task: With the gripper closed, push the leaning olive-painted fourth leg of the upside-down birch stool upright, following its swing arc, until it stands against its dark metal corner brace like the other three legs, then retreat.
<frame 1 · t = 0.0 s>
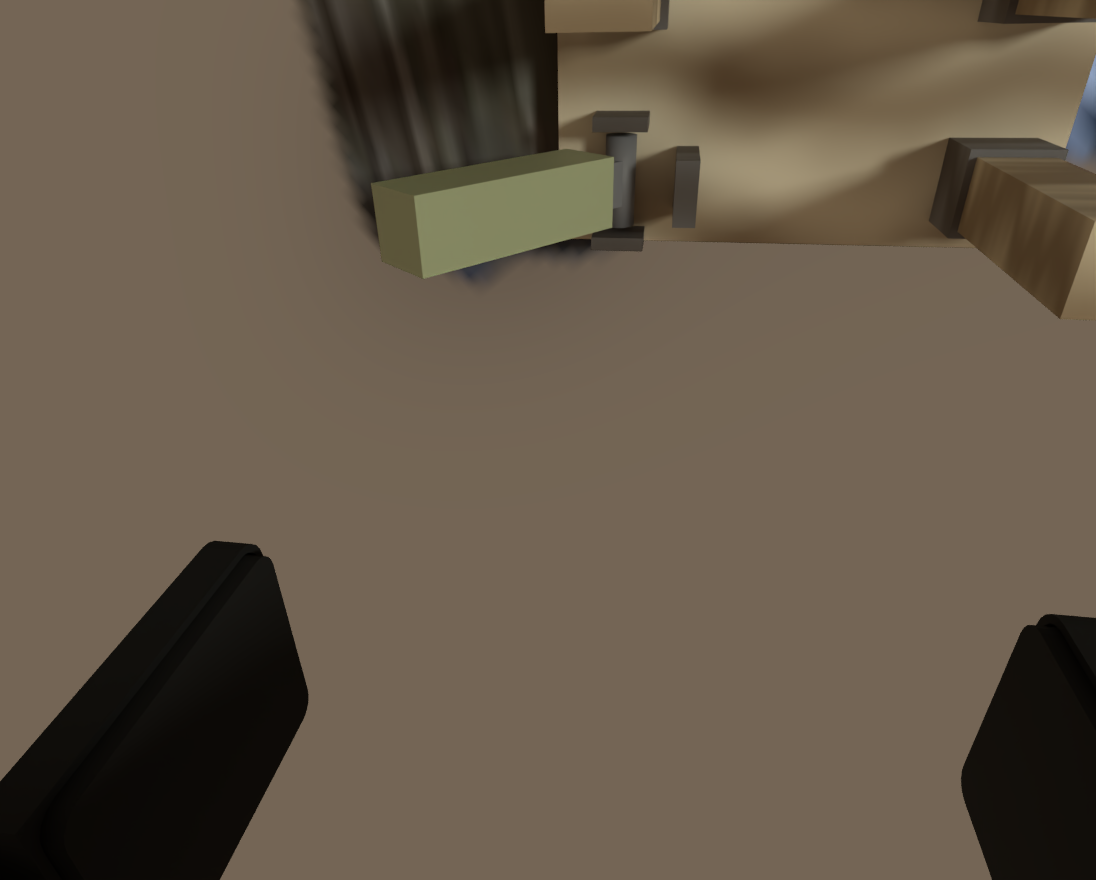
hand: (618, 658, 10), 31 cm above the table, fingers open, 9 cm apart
hinged leg: (527, 201, 31), point 7 cm above the table, hinge at 40.0°
stool seat: (805, 79, 33), on the table
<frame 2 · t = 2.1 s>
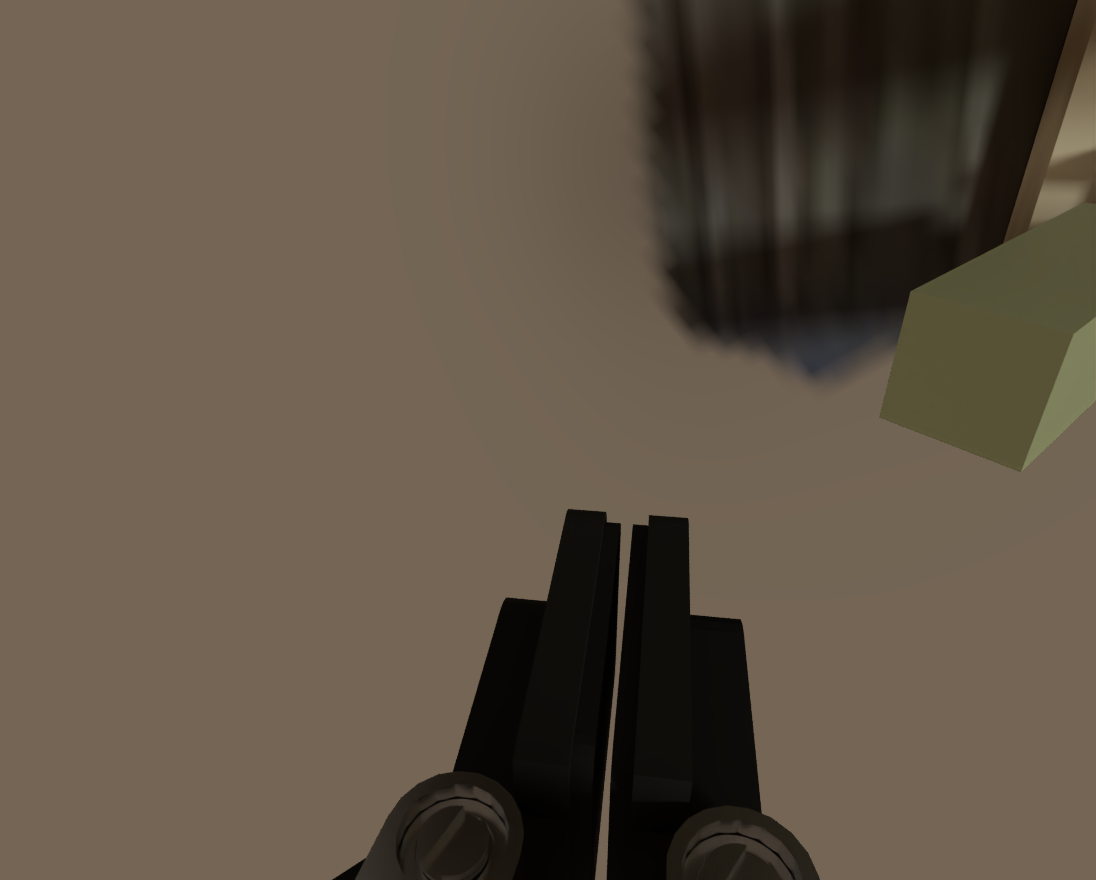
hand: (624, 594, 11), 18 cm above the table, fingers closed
hinged leg: (1077, 300, 18), point 7 cm above the table, hinge at 40.0°
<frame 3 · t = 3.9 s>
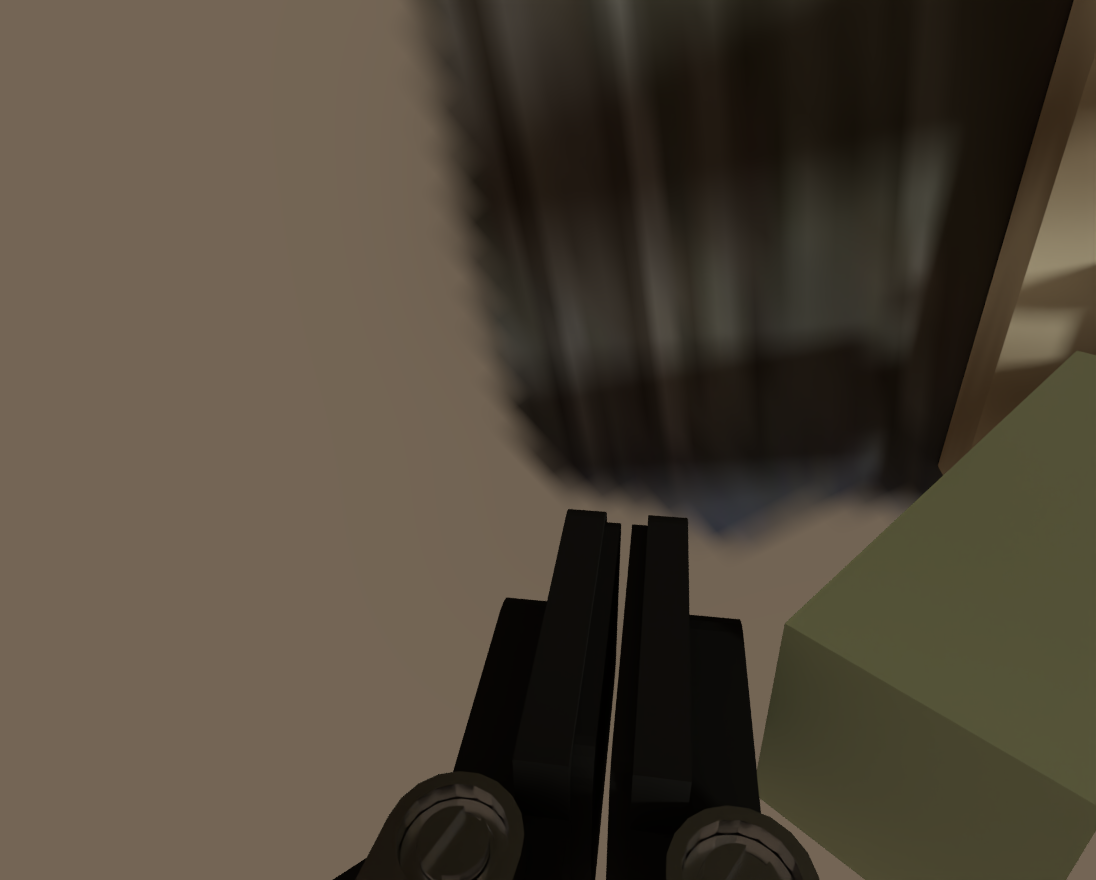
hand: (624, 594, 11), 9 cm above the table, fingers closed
hinged leg: (1079, 535, 11), point 7 cm above the table, hinge at 38.2°, touching gripper
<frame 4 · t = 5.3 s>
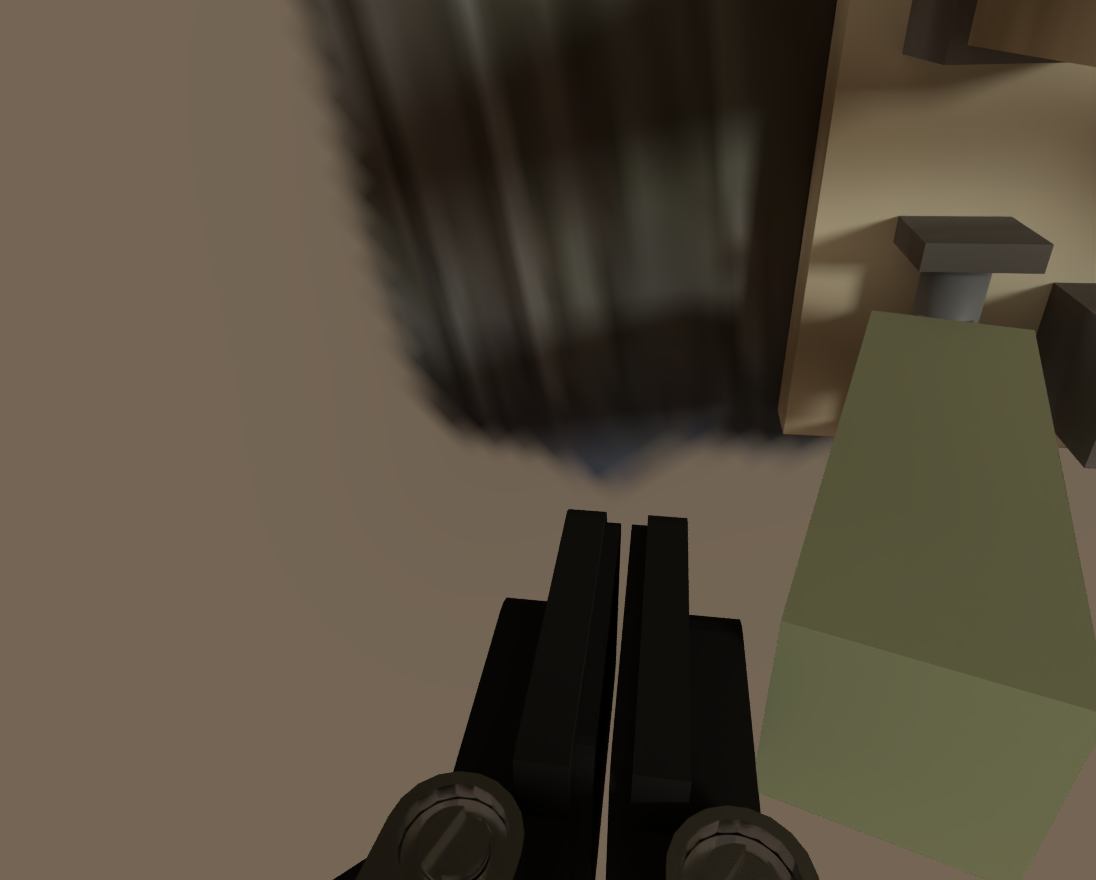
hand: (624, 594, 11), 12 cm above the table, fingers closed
hinged leg: (925, 471, 13), point 8 cm above the table, hinge at 17.0°, touching gripper
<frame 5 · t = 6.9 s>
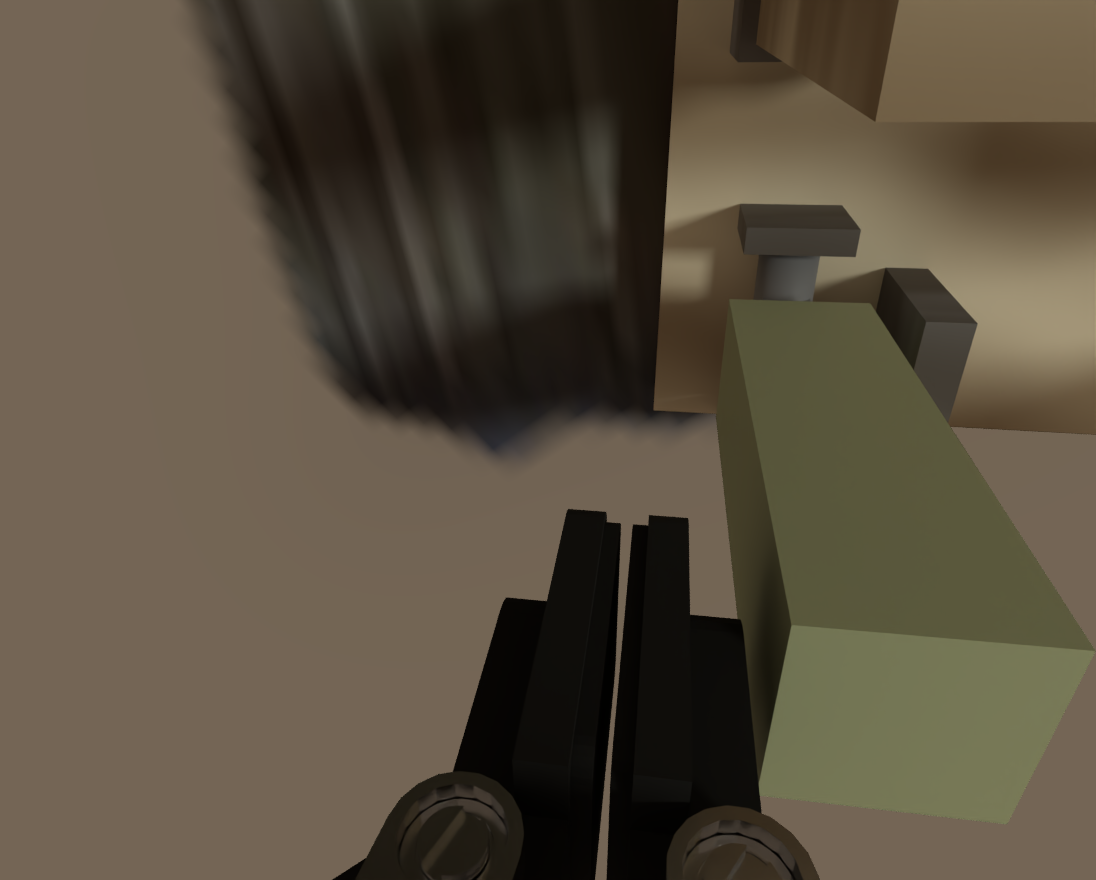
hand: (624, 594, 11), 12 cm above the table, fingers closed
hinged leg: (815, 445, 14), point 8 cm above the table, hinge at -0.6°, touching gripper
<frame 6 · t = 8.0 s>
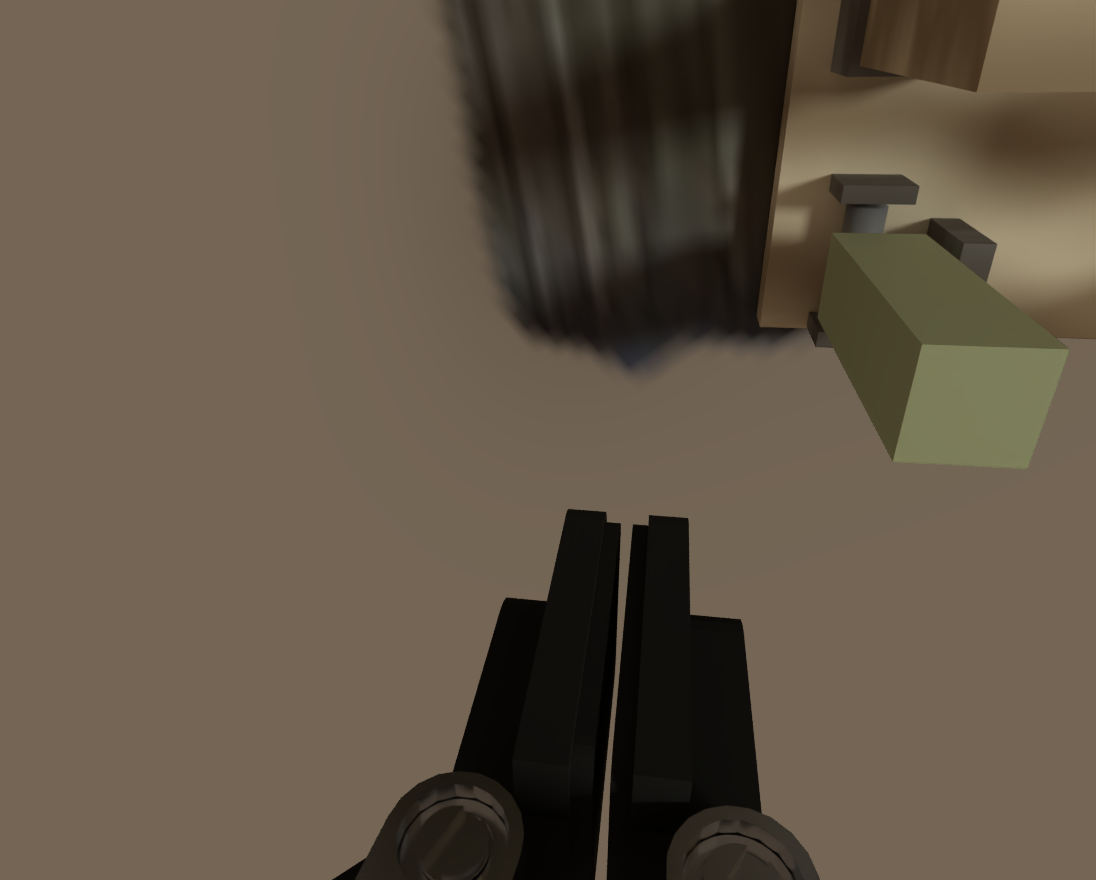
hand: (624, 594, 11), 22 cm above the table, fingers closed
hinged leg: (899, 313, 22), point 8 cm above the table, hinge at -0.7°
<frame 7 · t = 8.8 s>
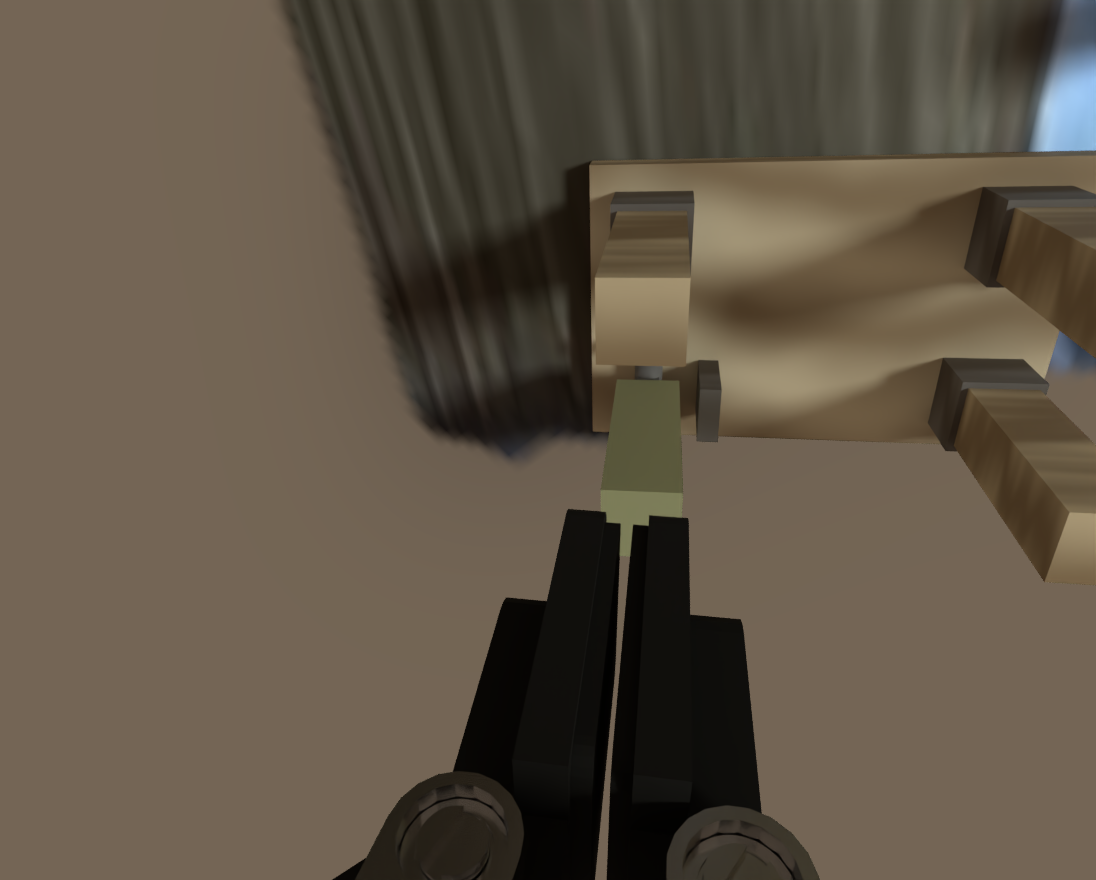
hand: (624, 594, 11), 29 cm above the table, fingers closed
hinged leg: (645, 443, 33), point 8 cm above the table, hinge at -0.7°
stool seat: (812, 303, 37), on the table
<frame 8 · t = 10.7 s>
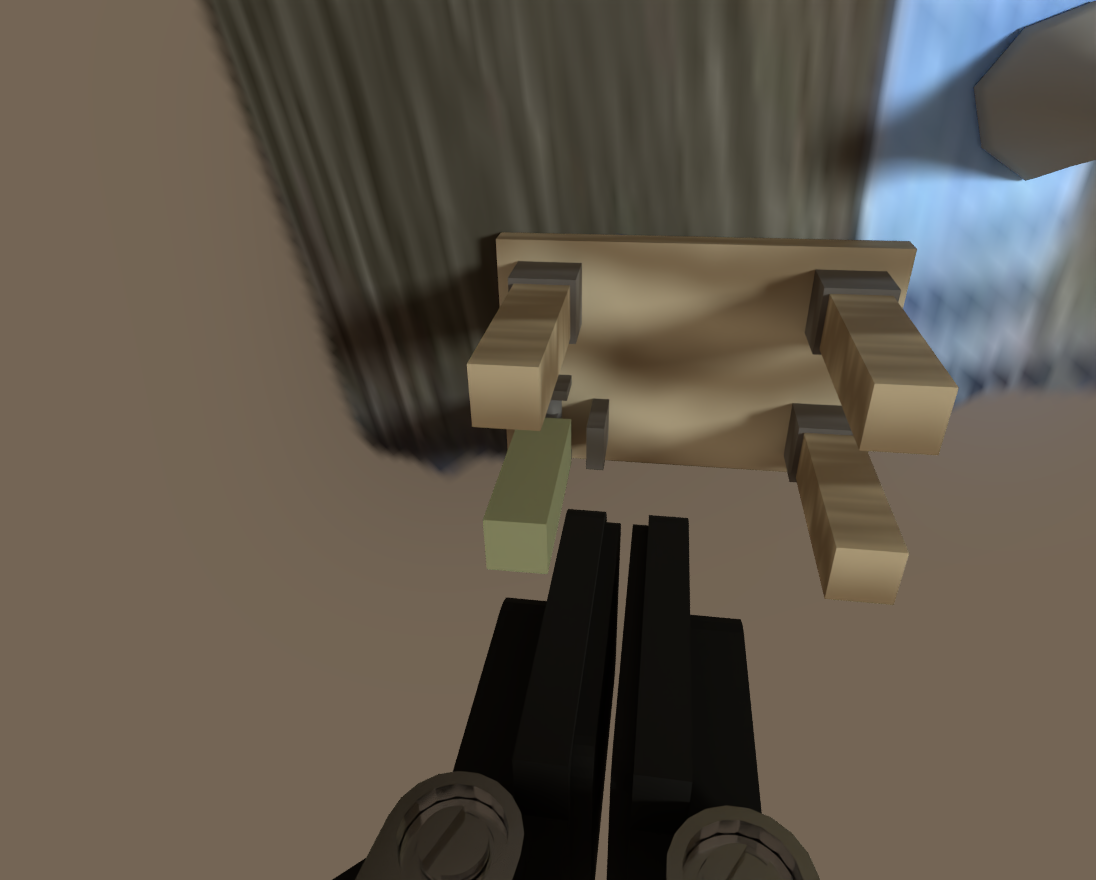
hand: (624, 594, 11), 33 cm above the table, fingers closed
hinged leg: (536, 473, 40), point 8 cm above the table, hinge at -0.7°
flask: (1054, 94, 35), on the table
stool seat: (687, 353, 44), on the table
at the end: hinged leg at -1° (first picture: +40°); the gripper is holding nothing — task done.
